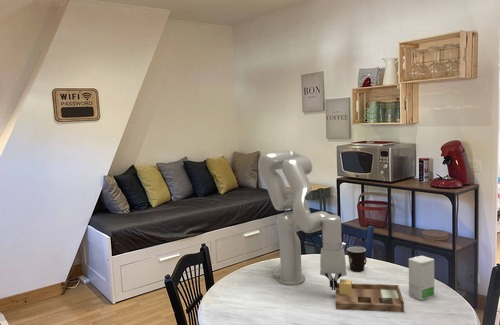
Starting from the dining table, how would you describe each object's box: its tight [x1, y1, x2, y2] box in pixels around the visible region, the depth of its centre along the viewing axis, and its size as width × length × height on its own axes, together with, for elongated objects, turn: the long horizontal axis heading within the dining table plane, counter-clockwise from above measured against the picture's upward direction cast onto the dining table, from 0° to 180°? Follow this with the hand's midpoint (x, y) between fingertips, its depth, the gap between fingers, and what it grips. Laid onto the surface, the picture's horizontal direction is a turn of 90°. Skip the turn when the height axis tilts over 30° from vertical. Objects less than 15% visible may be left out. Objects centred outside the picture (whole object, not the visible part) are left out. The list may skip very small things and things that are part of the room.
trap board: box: [335, 282, 405, 313], centre depth 168 cm, size 25×15×4 cm, turn 78°
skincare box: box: [408, 255, 435, 301], centre depth 170 cm, size 8×7×16 cm
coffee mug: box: [347, 246, 367, 273], centre depth 200 cm, size 12×9×10 cm
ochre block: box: [338, 278, 353, 295], centre depth 172 cm, size 4×4×4 cm
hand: (333, 288), depth 173 cm, fingers closed
